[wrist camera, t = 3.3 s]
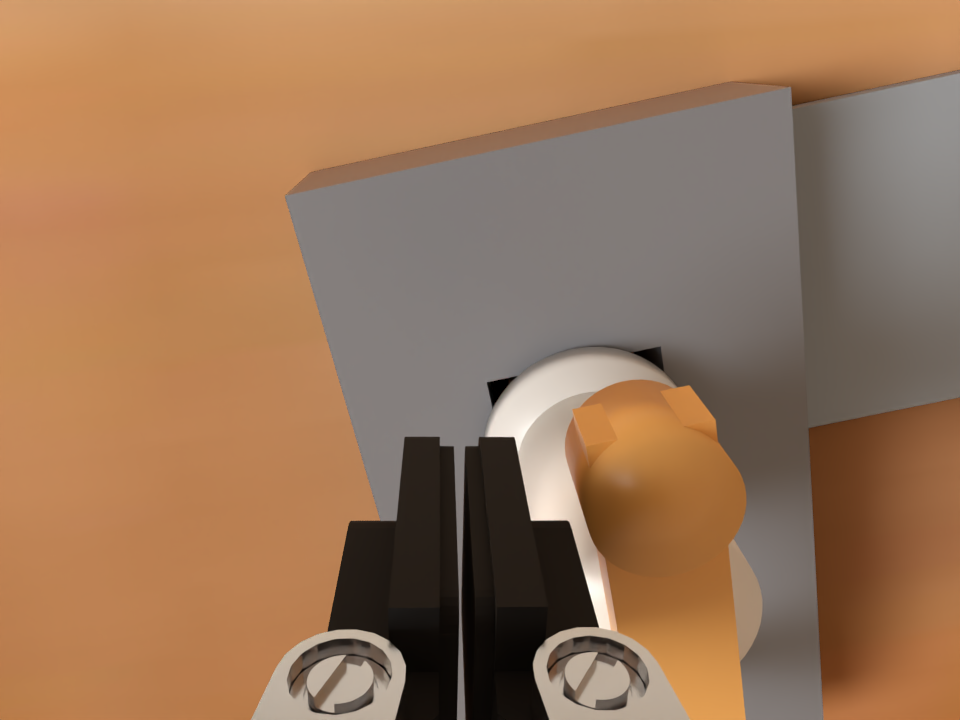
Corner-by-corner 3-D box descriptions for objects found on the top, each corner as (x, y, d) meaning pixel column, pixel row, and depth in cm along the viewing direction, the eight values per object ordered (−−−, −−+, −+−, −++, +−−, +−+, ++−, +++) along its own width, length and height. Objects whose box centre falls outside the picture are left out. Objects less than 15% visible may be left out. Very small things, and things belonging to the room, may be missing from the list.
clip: (529, 321, 15) (574, 457, 10) (638, 298, 15) (740, 423, 10) (617, 788, 20) (679, 1042, 15) (701, 772, 20) (792, 1022, 15)
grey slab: (310, 172, 22) (248, 228, 15) (730, 81, 22) (874, 94, 14) (469, 741, 30) (479, 955, 23) (777, 681, 30) (885, 880, 23)
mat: (768, 110, 22) (776, 112, 21) (1123, 34, 22) (1141, 34, 21) (787, 422, 26) (795, 430, 25) (1091, 360, 25) (1106, 367, 25)
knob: (460, 319, 24) (475, 525, 13) (640, 281, 24) (798, 460, 13) (495, 475, 26) (532, 759, 15) (661, 442, 26) (812, 705, 15)
